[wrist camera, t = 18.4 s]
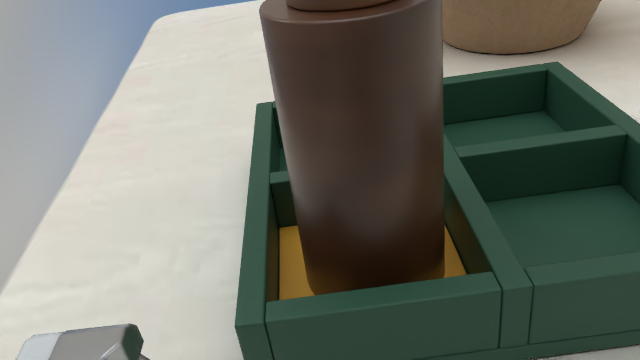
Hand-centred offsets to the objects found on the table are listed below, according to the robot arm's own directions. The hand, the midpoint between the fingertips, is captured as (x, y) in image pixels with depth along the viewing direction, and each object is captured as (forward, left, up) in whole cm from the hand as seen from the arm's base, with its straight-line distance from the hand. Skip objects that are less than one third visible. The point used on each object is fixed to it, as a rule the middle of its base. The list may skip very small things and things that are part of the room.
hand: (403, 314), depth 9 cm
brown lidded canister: (0, +8, -6) cm, 10 cm away
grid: (+4, +12, -7) cm, 14 cm away
